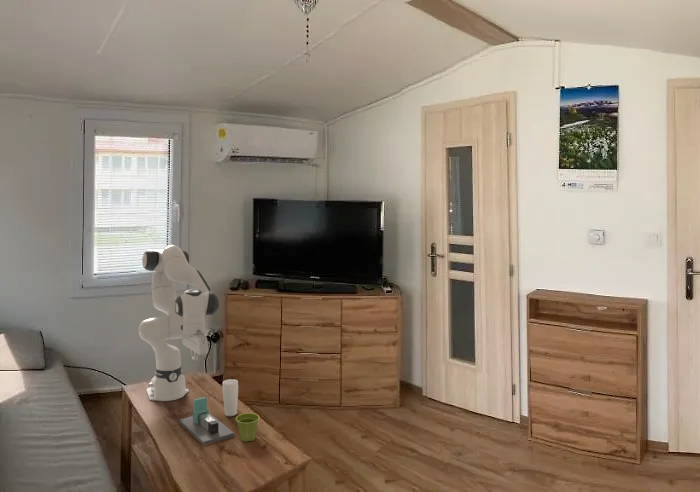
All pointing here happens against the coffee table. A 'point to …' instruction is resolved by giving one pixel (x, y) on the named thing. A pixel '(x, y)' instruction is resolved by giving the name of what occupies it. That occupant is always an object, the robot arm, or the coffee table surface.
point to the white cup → (230, 396)
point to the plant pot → (247, 426)
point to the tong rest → (203, 434)
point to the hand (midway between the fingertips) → (195, 360)
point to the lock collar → (199, 407)
